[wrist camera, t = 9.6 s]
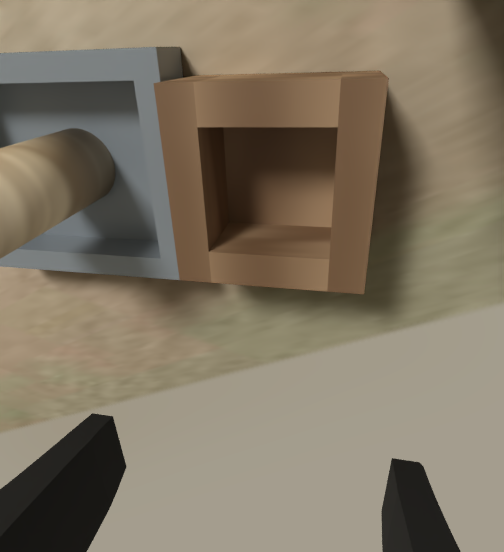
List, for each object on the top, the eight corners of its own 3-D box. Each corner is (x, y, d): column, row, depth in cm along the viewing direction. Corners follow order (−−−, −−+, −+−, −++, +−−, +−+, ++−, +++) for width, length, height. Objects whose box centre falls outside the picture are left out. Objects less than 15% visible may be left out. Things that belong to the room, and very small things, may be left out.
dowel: (107, 128, 18) (-20, 170, 12) (121, 201, 19) (15, 272, 13) (41, 128, 18) (-113, 167, 12) (59, 198, 20) (-69, 265, 14)
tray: (180, 47, 16) (155, 46, 14) (201, 257, 20) (185, 280, 18) (-40, 55, 18) (-88, 56, 16) (22, 246, 22) (-10, 265, 20)
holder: (380, 70, 15) (388, 78, 11) (361, 247, 18) (363, 294, 15) (195, 75, 16) (153, 83, 13) (209, 239, 20) (179, 280, 16)
